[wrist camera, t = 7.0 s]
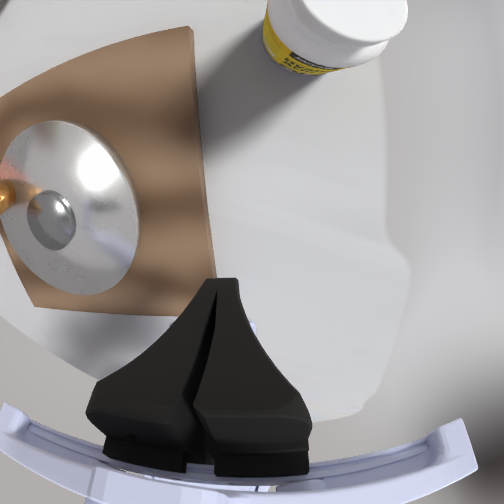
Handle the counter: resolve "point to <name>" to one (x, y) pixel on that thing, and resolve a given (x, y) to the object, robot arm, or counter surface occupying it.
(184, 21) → the counter surface
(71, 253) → the silver rounded shallow piece
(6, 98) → the post board
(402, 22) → the supplement bottle
